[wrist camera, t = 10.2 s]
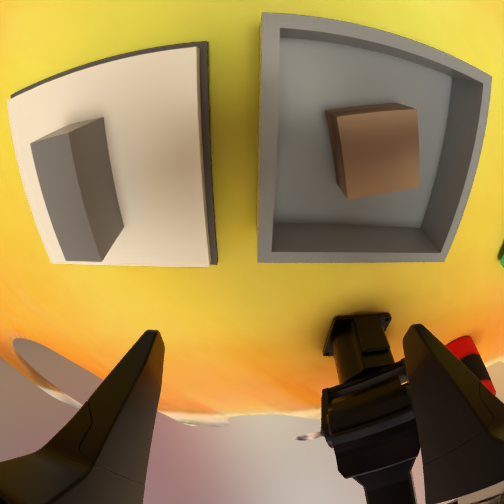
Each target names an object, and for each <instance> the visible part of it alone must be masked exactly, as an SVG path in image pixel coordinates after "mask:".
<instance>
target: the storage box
mask: <svg viewBox="0 0 504 504" xmlns="http://www.w3.org/2000/svg"><path fill="white" fill-rule="evenodd" d="M491 82H492V76H490V75H488V74H487V73H485V72H483V71H481V70H479V69H478V68H476V67H474V66H472V65H470V64H468V63H466V62H464V61H462V60H460V59H458V58H456V57H454V56H451V55H449V54H447V53H445V52H442V51H440V50H438V49H435V48H433V47H430V46H428V45H425V44H422V43H420V42H417V41H414V40H411V39H408V38H406V37H402V36H399V35H396V34H393V33H390V32H386V31H383V30H379V29H375V28H371V27H367V26H363V25H359V24H354V23H350V22H345V21H339V20H334V19H328V18H321V17H314V16H306V15H296V14H284V13H264V12H262V17H261V23H260V57H259V125H258V183H257V259H258V262H263V263H360V262H444V261H445V259H446V256H447V254H448V252H449V249H450V247H451V245H452V242H453V240H454V237H455V235H456V232H457V229H458V227H459V224H460V221H461V219H462V216H463V213H464V210H465V207H466V204H467V201H468V198H469V195H470V191H471V188H472V185H473V181H474V177H475V174H476V170H477V166H478V162H479V158H480V154H481V149H482V144H483V140H484V134H485V129H486V123H487V117H488V110H489V102H490V93H491ZM386 103H400V104H403V105H406V106H409V107H412V108H415V109H417V116H418V130H419V157H420V180H419V187H416V188H411V189H405V190H399V191H393V192H388V193H382V194H377V195H371V196H366V197H361V198H356V199H350V200H348V199H347V198H346V196H345V195H344V193H343V192H342V190H341V189H340V188H339V186H338V185H337V181H336V174H335V166H334V160H333V153H332V147H331V141H330V135H329V129H328V123H327V118H326V113H325V110H332V109H339V108H346V107H355V106H364V105H374V104H386Z"/></svg>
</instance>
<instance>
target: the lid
mask: <svg viewBox="0 0 504 504" xmlns="http://www.w3.org/2000/svg"><path fill="white" fill-rule="evenodd" d="M7 105H8V113H9V121H10V127H11V133H12V139H13V144H14V149H15V154H16V158H17V162H18V167H19V171H20V175H21V178H22V182H23V186H24V189H25V192H26V196H27V199H28V202H29V205H30V208H31V211H32V214H33V217H34V220H35V223H36V226H37V228H38V231H39V234H40V236H41V239H42V241H43V244H44V246H45V249H46V251H47V253H48V256H49V258H50V260H51V263H62V264H91V265H127V266H175V267H210V262H211V253H210V242H209V231H208V219H207V207H206V194H205V179H204V163H203V146H202V125H201V99H200V48H198V47H190V48H181V49H173V50H166V51H159V52H153V53H148V54H142V55H137V56H132V57H128V58H123V59H119V60H115V61H111V62H107V63H103V64H100V65H96V66H93V67H89V68H86V69H83V70H80V71H77V72H74V73H71V74H68V75H65V76H62V77H60V78H57V79H54V80H52V81H49V82H47V83H44V84H42V85H40V86H37V87H35V88H33V89H30V90H28V91H26V92H24V93H22V94H20V95H18V96H16V97H14V98H12V99H10V100H8V101H7Z"/></svg>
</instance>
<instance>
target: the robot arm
mask: <svg viewBox="0 0 504 504" xmlns="http://www.w3.org/2000/svg"><path fill="white" fill-rule="evenodd" d="M390 321H391V315H390V314H375V315H361V316H344V317H336V318H335V319H334V320H333V323H332V326H331V329H330V332H329V335H328V337H327V340H326V343H325V346H324V349H323V355H324V356H334V359H335V363H336V368H337V373H338V378H339V383H340V385H337V386H334V387H331V388H325V389H323V390H322V398H321V401H322V409H321V421H322V422H321V423H322V424H321V435H322V436H324V437H325V438H326V441H327V443H328V445H329V446H330V447H331V448H334V451H335V455H336V460H337V466H338V471H339V472H340V473H341V475H343V477H344V478H346V479H347V478H351V477H352V478H353V479H355V480H356V481H357V482H358V483H359V484H361V485H362V486H363V487H364V491H365V496H366V501H367V504H417V499H416V493H415V487H414V482H413V477H412V471H411V469H412V467H413V464H414V462H415V459H416V457H417V456H418V454H419V450H420V447H421V454H422V462H423V473H424V485H425V501H426V504H437V503H441V502H444V501H448V500H452V499H455V498H457V499H456V500H454V501H452V502H450V503H448V504H504V404H503V403H502V402H501V401H500V400H499V399H498V398H497V397H496V396H495V395H494V394H493V393H492V392H491V391H490V390H489V389H488V388H487V387H486V386H485V385H484V384H483V383H482V382H481V381H479V379H478V378H477V377H476V376H475V375H474V374H473V373H472V372H471V371H470V370H469V369H468V368H467V367H466V366H465V365H464V364H463V363H462V362H461V361H460V360H459V359H458V358H457V357H456V356H455V355H454V354H453V353H452V352H451V351H450V350H449V349H448V348H447V347H446V346H445V345H443V344H442V343H441V342H440V341H439V340H438V339H437V338H436V337H435V336H434V335H433V334H432V333H431V332H430V331H429V330H428V329H426V328H425V327H424V326H423V325H422V324H413V325H411V326H410V328H409V329H408V331H407V333H406V334H405V336H404V338H403V349H404V355H405V358H403V359H401V361H398V362H396V363H395V362H394V359H393V356H392V353H391V350H390V345H389V342H388V340H387V337H386V334H385V330H386V328H387V326H388V325H389V323H390ZM164 352H165V346H164V342H163V340H162V337H161V335H160V332H159V331H158V330H147V331H145V333H144V334H143V335H142V336H141V337H140V338H139V340H138V341H137V342H136V343H135V344H134V345H133V346H132V348H131V349H130V350H129V351H128V352H127V353H126V355H125V356H124V357H123V358H122V359H121V361H120V362H119V363H118V364H117V365H116V366H115V368H114V369H113V370H112V371H111V372H110V374H109V375H108V376H107V377H106V378H105V380H104V381H103V382H102V383H101V384H100V386H99V387H98V388H97V389H96V390H95V392H94V393H93V394H92V395H91V396H90V398H89V399H88V401H86V402H85V404H84V405H83V406H82V407H81V408H80V410H79V411H78V412H77V413H76V414H75V415H74V417H73V418H72V419H71V420H70V421H69V422H68V423H67V424H66V425H65V426H64V427H63V428H62V429H61V430H60V431H59V432H58V433H57V434H56V435H55V436H54V437H53V438H52V439H51V440H50V441H49V442H48V443H47V444H46V445H44V446H43V447H42V448H41V449H39V450H38V451H36V452H34V453H32V454H28V455H25V456H22V457H18V458H14V459H11V460H7V461H3V462H0V504H143V496H144V489H145V485H144V484H145V480H146V473H147V466H148V459H149V453H150V446H151V441H152V434H153V429H154V424H155V418H156V413H157V407H158V402H159V397H160V392H161V384H162V373H163V362H164ZM406 381H407V383H405V384H403V385H401V384H402V383H404V382H406Z"/></svg>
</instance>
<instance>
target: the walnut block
mask: <svg viewBox="0 0 504 504" xmlns="http://www.w3.org/2000/svg"><path fill="white" fill-rule="evenodd" d="M325 113H326V118H327V123H328V129H329V135H330V141H331V147H332V153H333V160H334V166H335V174H336V181H337V185H338V186H339V188H340V189H341V190H342V192H343V193H344V195H345V196H346V198H347V199H348V200H350V199H356V198H361V197H366V196H371V195H377V194H382V193H388V192H393V191H399V190H405V189H411V188H416V187H419V180H420V157H419V130H418V116H417V109H415V108H412V107H409V106H406V105H403V104H400V103H386V104H374V105H364V106H355V107H346V108H339V109H332V110H325Z"/></svg>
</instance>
